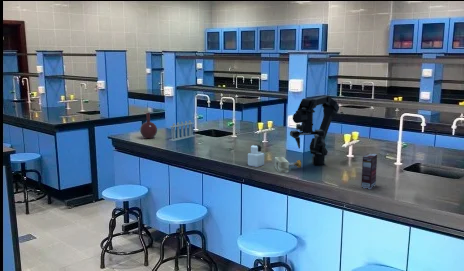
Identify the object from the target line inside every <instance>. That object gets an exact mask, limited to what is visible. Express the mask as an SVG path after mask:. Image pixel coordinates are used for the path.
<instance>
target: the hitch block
mask: <svg viewBox="0 0 464 271" xmlns="http://www.w3.org/2000/svg"><path fill="white" fill-rule="evenodd" d="M289 163H290V162H289V161H288V160H287V159H286V158H285V157H284V156H279V157H278V156H277V157H276V156H275V157H274V167H273V168H275V170H276V171H277V172H278V173H280V174H283V173H284V174H285V173H286V174H287V173H289V170H290V166H289Z"/></svg>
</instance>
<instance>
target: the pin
mask: <svg viewBox="0 0 464 271" xmlns="http://www.w3.org/2000/svg"><path fill="white" fill-rule="evenodd" d="M289 167H297V169H301V168H302V161H301V159H296V162H295V161H294V162H289Z"/></svg>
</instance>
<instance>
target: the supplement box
mask: <svg viewBox="0 0 464 271" xmlns="http://www.w3.org/2000/svg"><path fill="white" fill-rule="evenodd" d="M377 163H378V154H377V153H370V152H368V153H367V154H364V155H363V156H362V164H361V165H362V166H361V182H360V183H361V185H360V188H361V187H363V188H362V189H365V188H368V189H367V190H371V189H373V188H374V187H375V186H377V185H376V184H377V168H378V167H377V166H378V165H377ZM374 185H375V186H374ZM373 186H374V187H373ZM372 187H373V188H372Z"/></svg>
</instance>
